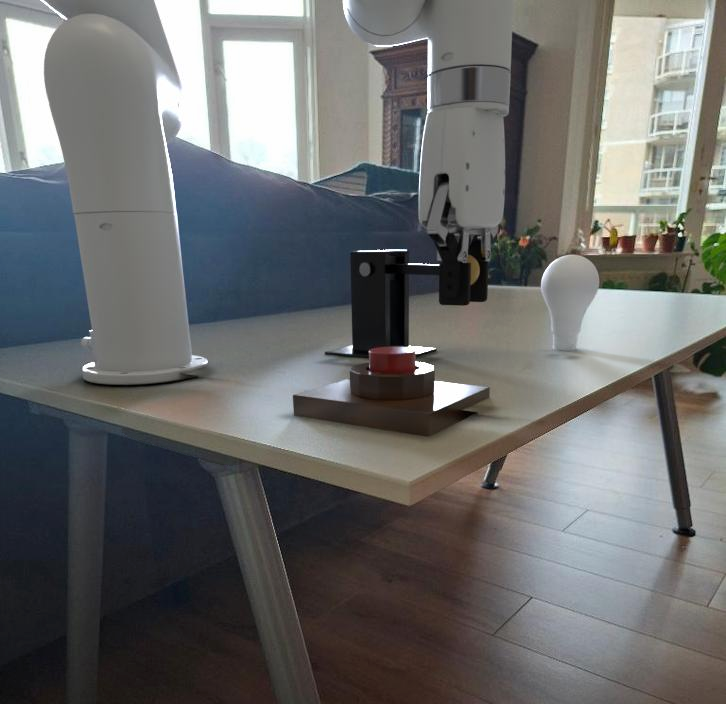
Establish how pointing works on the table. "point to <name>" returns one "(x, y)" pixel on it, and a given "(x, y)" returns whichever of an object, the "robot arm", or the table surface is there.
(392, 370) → the lamp button
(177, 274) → the robot arm
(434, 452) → the table surface
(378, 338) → the switch bracket
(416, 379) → the button base
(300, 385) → the table surface
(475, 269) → the switch lever
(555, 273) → the lightbulb
